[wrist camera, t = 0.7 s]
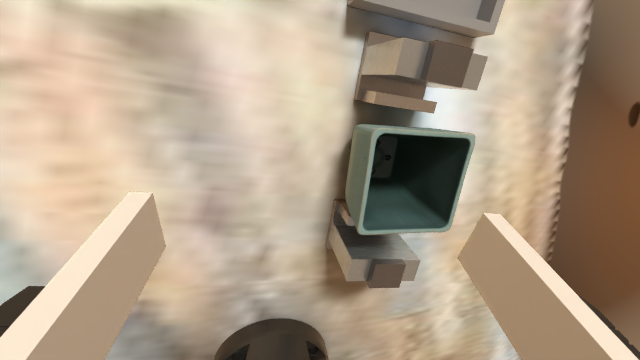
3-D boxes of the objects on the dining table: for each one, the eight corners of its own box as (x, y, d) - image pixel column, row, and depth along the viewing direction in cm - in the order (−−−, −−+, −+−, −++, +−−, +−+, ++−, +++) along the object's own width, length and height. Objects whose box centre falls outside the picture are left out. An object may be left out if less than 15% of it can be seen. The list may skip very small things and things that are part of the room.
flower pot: (418, 117, 29) (479, 133, 21) (402, 193, 32) (450, 232, 24) (339, 111, 27) (374, 127, 19) (330, 192, 30) (356, 235, 22)
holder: (379, 246, 34) (414, 297, 27) (325, 245, 33) (346, 299, 25) (432, 47, 27) (503, 36, 19) (366, 32, 25) (415, 13, 17)
